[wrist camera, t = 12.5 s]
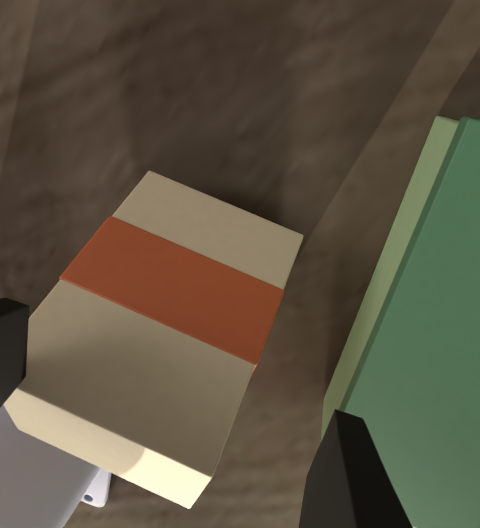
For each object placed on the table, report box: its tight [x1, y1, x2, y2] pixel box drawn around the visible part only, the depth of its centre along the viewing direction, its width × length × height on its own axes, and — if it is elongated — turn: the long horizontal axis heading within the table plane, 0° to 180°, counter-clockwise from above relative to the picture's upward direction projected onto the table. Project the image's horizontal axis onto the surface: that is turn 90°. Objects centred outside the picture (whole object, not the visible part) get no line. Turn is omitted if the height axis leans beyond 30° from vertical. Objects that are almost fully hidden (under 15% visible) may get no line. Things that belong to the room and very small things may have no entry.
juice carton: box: [3, 171, 303, 509], centre depth 15 cm, size 4×6×8 cm
